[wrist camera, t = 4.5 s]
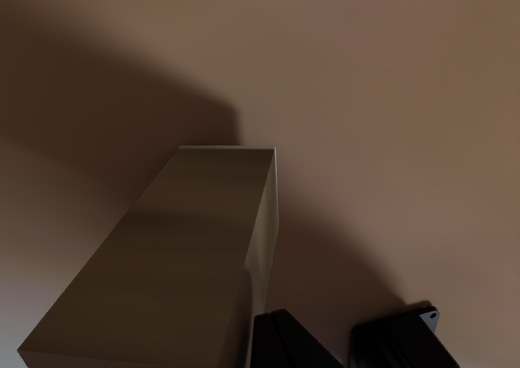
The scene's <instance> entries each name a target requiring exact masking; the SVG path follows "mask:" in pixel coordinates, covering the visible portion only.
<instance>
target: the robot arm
mask: <svg viewBox="0 0 520 368" xmlns="http://www.w3.org/2000/svg"><path fill="white" fill-rule="evenodd" d="M439 314H440V312H439V311H438V310H437V309H436V307H434V306H430V307H427V308H423V309H420V310H416V311H412V312H409V313H405V314H401V315H398V316H394V317H390V318H387V319H383V320H379V321H376V322H372V323H368V324H365V325H361V326H358V327H355V328H354V329H353V330H352V332H351V339H350V348H349V358H348V368H460V366H459V365H458V363H457V362H456V361H455V360H454V358H453V357H452V356H451V354H450V353H449V352H448V351H447V349H446V348H445V347H444V346H443V344H442V343H441V342H440V341H439V339H438V338H437V337H436V335H435V334H434V332H435V328H436V325H437V321H438V318H439ZM250 368H345V367H344V366H343V365H342V364H341V363H340V362H339V361H338V360H337V359H336V358H335V357H334V356H333V355H332V354H331V353H330V352H329V351H328V350H327V349H326V348H325V347H324V346H323V345H322V344H320V343H319V342H318V341H317V340H316V339H315V338H314V337H313V336H312V335H311V334H310V333H309V332H308V331H307V330H306V329H305V328H304V327H303V326H302V325H301V324H300V323H299V322H298V321H297V320H296V319H295V318H294V317H293V316H292V315H291V314H290V313H289V312H288V311H287V310H286V309H279V310H275V311H272V312H271V313H270V314H269V313H263V314H259V315H256V316H255V317H254V325H253V336H252V348H251V359H250Z"/></svg>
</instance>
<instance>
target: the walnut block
mask: <svg viewBox="0 0 520 368" xmlns="http://www.w3.org/2000/svg"><path fill="white" fill-rule="evenodd" d="M278 229H279V213H278V191H277V168H276V146H195V145H181V146H180V147H179V148H178V149H177V151H176V152H175V153H174V154H173V156H172V157H171V158H170V159H169V161H168V162H167V163H166V164H165V166H164V167H163V168H162V169H161V171H160V172H159V173H158V174H157V176H156V177H155V178H154V179H153V181H152V182H151V183H150V184H149V186H148V187H147V188H146V189H145V191H144V192H143V193H142V194H141V196H140V197H139V198H138V199H137V201H136V202H135V203H134V204H133V206H132V207H131V208H130V209H129V211H128V212H127V213H126V214H125V216H124V217H123V218H122V219H121V221H120V222H119V223H118V224H117V226H116V227H115V228H114V229H113V231H112V232H111V233H110V234H109V236H108V237H107V238H106V239H105V241H104V242H103V243H102V244H101V246H100V247H99V248H98V249H97V251H96V252H95V253H94V254H93V256H92V257H91V258H90V259H89V261H88V262H87V263H86V264H85V266H84V267H83V268H82V269H81V271H80V272H79V273H78V274H77V276H76V277H75V278H74V279H73V281H72V282H71V283H70V284H69V286H68V287H67V288H66V289H65V291H64V292H63V293H62V294H61V296H60V297H59V298H58V299H57V301H56V302H55V303H54V304H53V306H52V307H51V308H50V309H49V311H48V312H47V313H46V314H45V316H44V317H43V318H42V319H41V321H40V322H39V323H38V324H37V326H36V327H35V328H34V329H33V331H32V332H31V333H30V334H29V336H28V337H27V338H26V339H25V341H24V342H23V343H22V344H21V346H20V347H19V348H18V349H17V351H18V353H19V354H20V356H21V358H22V359H23V361H24V362H25V364H26V365H27V367H28V368H250V359H251V348H252V336H253V325H254V317H255V316H256V315H259V314H263V313H264V312H265V306H266V300H267V294H268V288H269V282H270V276H271V270H272V264H273V259H274V253H275V247H276V241H277V235H278Z"/></svg>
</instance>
